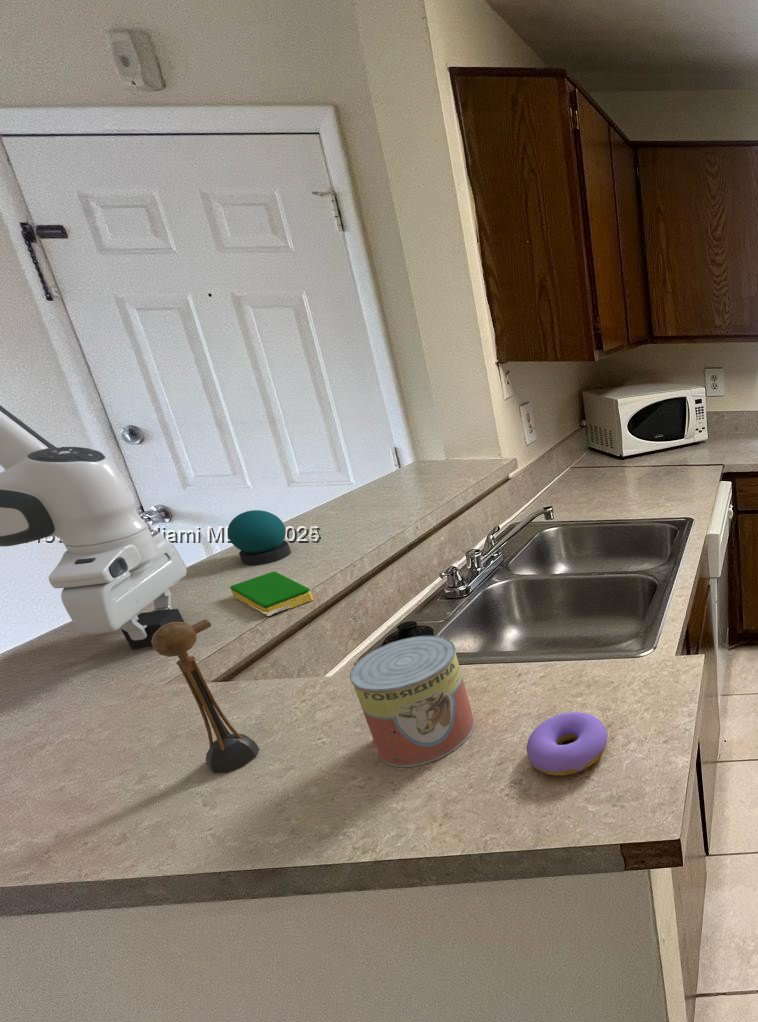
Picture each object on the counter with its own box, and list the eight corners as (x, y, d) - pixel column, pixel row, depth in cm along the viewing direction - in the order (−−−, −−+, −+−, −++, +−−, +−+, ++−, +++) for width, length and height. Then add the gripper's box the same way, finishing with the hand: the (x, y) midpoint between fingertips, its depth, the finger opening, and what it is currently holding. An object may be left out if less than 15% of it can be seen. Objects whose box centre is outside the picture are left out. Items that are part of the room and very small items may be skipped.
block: (131, 650, 98) (120, 629, 96) (151, 633, 102) (140, 613, 100) (170, 644, 99) (159, 623, 98) (187, 628, 104) (178, 608, 102)
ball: (230, 568, 123) (210, 522, 119) (251, 550, 131) (233, 506, 127) (283, 563, 126) (265, 517, 121) (301, 545, 133) (285, 501, 129)
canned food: (392, 782, 74) (363, 703, 69) (367, 735, 81) (339, 661, 76) (488, 734, 81) (468, 660, 76) (457, 695, 88) (437, 625, 83)
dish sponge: (268, 617, 107) (263, 605, 106) (233, 597, 113) (228, 586, 112) (314, 600, 112) (310, 588, 111) (278, 581, 119) (274, 570, 118)
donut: (626, 738, 80) (616, 714, 77) (577, 798, 74) (564, 775, 71) (569, 714, 84) (558, 691, 81) (518, 770, 78) (504, 746, 75)
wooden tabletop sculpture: (247, 736, 80) (185, 606, 72) (276, 742, 80) (216, 610, 71) (199, 770, 75) (126, 633, 67) (229, 776, 74) (159, 638, 66)
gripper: (133, 527, 102) (168, 599, 108) (37, 584, 84) (85, 666, 90) (179, 523, 104) (211, 593, 110) (96, 578, 86) (139, 658, 92)
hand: (154, 627), depth 100 cm, fingers closed on block, 5 cm apart
